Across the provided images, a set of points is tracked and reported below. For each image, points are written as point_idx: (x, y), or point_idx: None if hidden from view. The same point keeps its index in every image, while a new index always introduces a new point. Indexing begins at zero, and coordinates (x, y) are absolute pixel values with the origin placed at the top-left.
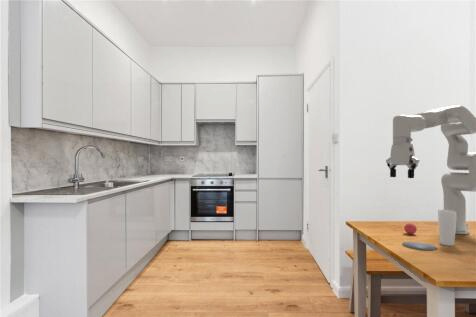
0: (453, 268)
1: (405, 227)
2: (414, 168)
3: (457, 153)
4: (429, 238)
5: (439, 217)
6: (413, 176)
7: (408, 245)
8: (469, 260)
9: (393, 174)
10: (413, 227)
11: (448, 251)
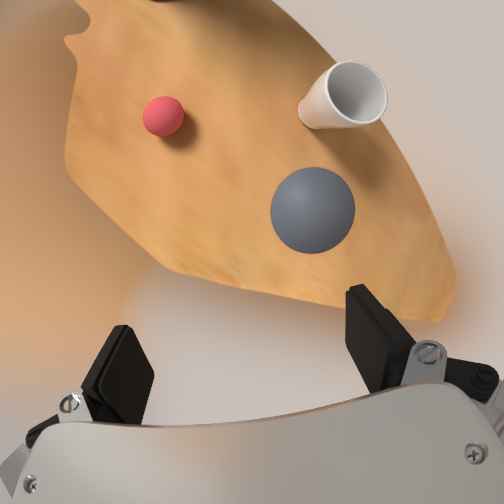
0: (433, 267)
1: (160, 135)
2: (436, 361)
3: None
4: (235, 99)
5: (341, 126)
6: (366, 296)
7: (305, 239)
8: (421, 194)
9: (138, 372)
10: (179, 115)
11: (368, 174)
